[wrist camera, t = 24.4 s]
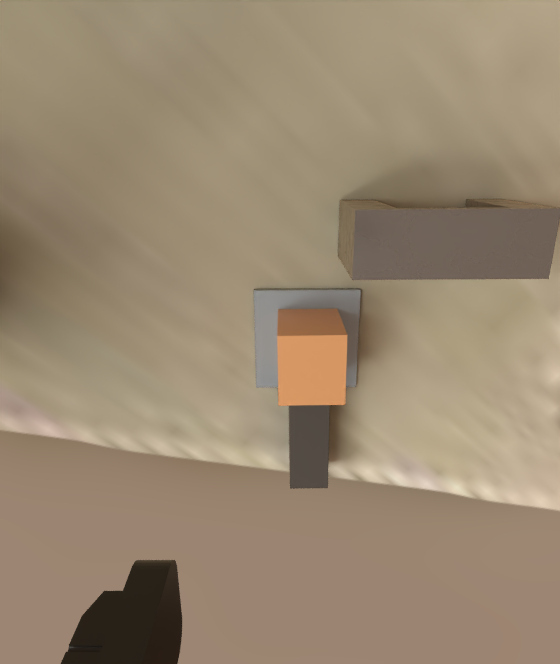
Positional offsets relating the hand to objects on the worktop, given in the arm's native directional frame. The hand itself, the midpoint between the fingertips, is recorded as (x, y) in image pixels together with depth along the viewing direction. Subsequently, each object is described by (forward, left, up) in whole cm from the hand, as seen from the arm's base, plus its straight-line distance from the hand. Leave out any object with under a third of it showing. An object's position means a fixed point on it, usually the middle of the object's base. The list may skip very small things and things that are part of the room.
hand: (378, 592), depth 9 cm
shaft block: (+8, +4, -28) cm, 29 cm away
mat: (0, -5, -28) cm, 29 cm away
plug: (0, -9, -28) cm, 29 cm away
